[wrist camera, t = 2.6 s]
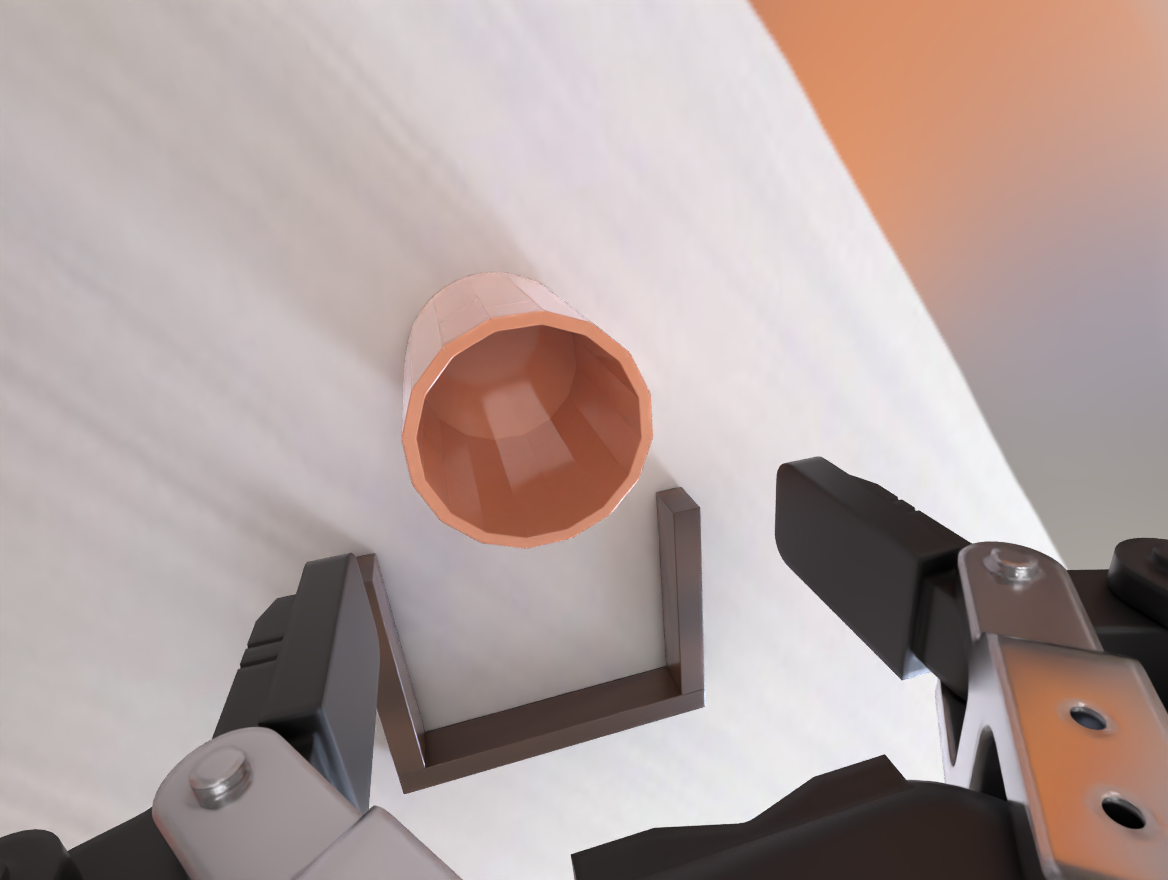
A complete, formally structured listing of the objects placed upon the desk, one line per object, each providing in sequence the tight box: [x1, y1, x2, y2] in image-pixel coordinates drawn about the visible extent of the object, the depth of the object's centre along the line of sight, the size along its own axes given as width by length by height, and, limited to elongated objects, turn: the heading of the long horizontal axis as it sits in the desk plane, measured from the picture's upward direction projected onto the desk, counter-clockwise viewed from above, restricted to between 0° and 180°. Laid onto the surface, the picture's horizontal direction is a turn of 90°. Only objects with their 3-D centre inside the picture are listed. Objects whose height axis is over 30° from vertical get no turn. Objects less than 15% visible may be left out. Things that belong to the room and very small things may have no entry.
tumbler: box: [402, 272, 653, 548], centre depth 20 cm, size 6×6×8 cm
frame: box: [356, 487, 705, 794], centre depth 27 cm, size 11×14×2 cm
